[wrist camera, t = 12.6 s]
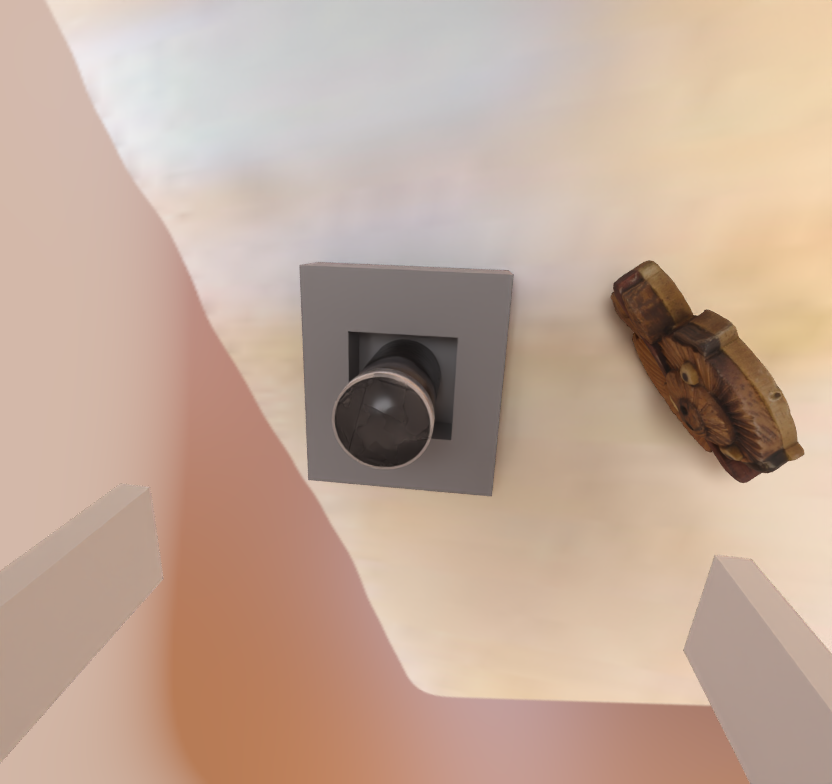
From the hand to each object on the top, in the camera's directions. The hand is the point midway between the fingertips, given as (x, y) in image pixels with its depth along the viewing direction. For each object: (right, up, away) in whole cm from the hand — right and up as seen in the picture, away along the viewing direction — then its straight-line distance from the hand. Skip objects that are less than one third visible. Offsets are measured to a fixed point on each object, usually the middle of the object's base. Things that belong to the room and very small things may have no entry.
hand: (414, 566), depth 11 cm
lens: (-1, +6, +25) cm, 26 cm away
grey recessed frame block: (-1, +6, +26) cm, 26 cm away
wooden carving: (+18, +6, +24) cm, 31 cm away
